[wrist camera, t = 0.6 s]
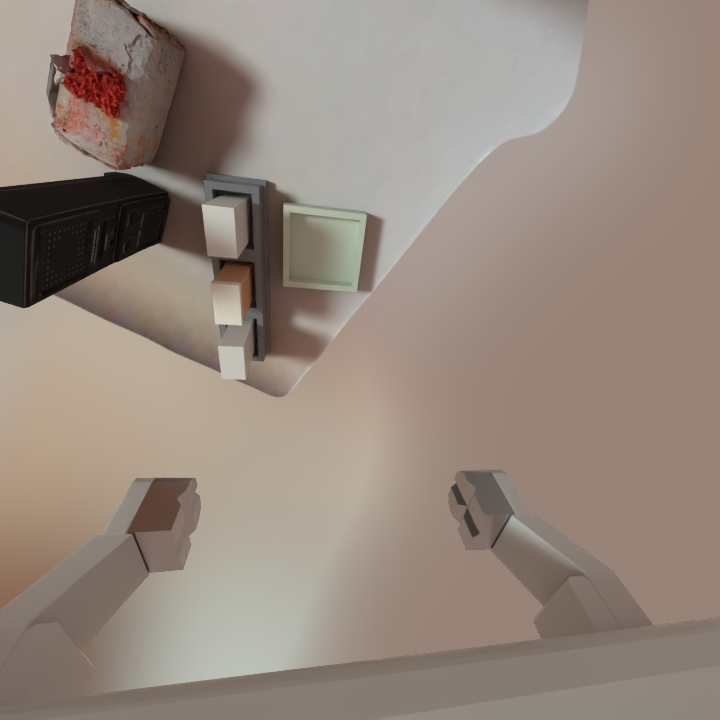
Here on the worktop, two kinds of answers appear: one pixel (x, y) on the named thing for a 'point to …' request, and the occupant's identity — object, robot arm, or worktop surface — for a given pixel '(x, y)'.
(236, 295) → the block
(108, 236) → the portable radio
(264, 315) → the fuse block
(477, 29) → the worktop surface
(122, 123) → the food item
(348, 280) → the tray
